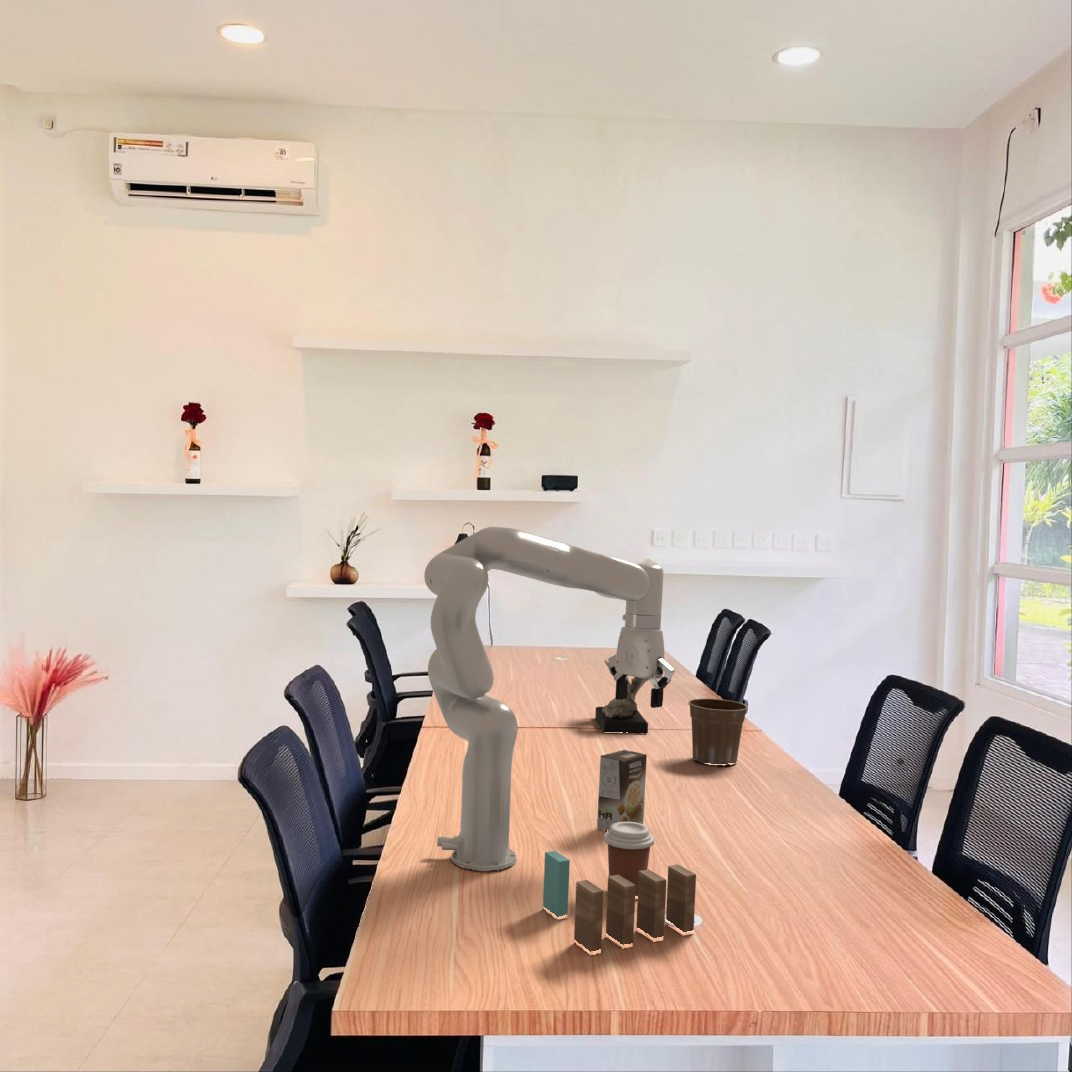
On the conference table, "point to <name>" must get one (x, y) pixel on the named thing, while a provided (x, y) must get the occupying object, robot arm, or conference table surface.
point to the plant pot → (716, 729)
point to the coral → (623, 711)
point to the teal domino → (556, 883)
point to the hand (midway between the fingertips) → (638, 703)
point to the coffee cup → (628, 850)
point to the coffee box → (621, 788)
